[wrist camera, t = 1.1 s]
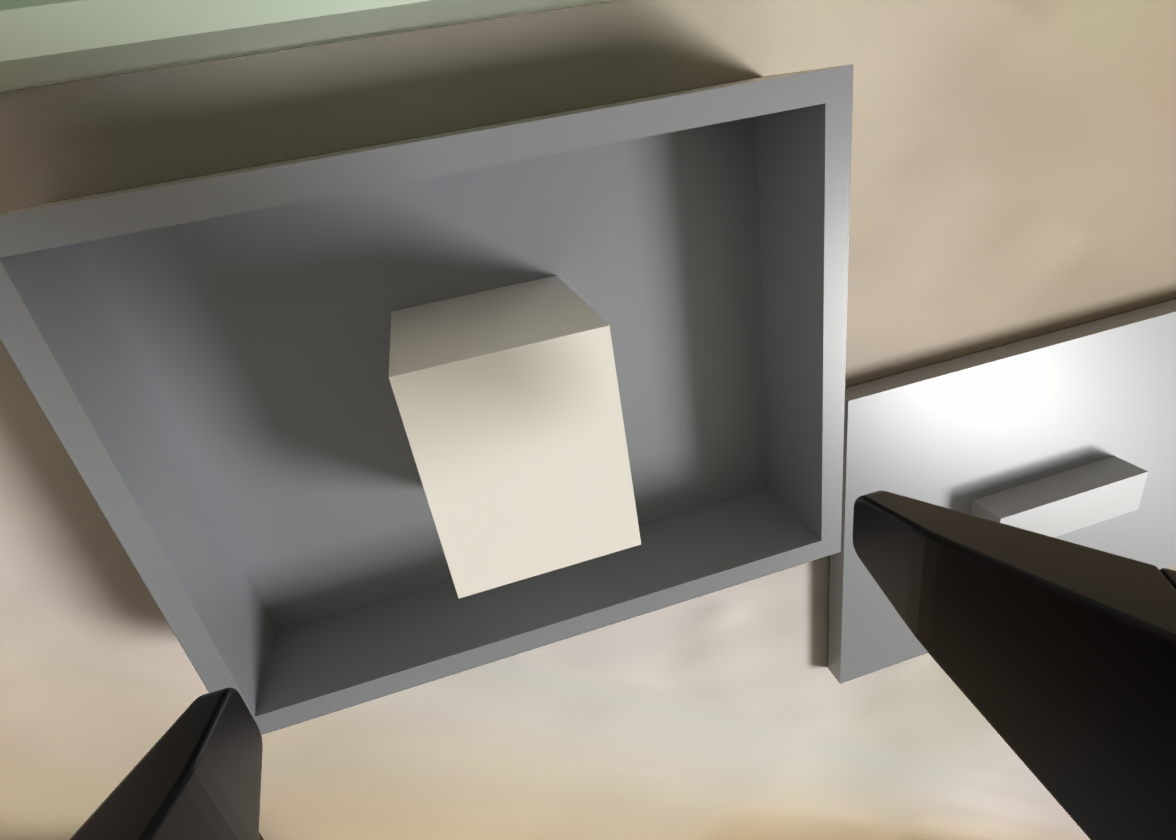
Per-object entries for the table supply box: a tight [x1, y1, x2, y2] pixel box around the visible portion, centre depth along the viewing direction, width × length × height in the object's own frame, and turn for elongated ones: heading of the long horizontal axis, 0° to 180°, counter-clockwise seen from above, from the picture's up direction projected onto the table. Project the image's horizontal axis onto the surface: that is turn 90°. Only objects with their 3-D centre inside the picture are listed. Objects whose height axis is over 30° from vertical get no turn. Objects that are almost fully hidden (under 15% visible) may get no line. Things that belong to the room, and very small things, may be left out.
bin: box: [0, 64, 853, 735], centre depth 16 cm, size 16×12×4 cm
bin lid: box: [828, 299, 1176, 684], centre depth 23 cm, size 16×12×2 cm
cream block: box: [389, 275, 641, 598], centre depth 15 cm, size 4×5×4 cm
